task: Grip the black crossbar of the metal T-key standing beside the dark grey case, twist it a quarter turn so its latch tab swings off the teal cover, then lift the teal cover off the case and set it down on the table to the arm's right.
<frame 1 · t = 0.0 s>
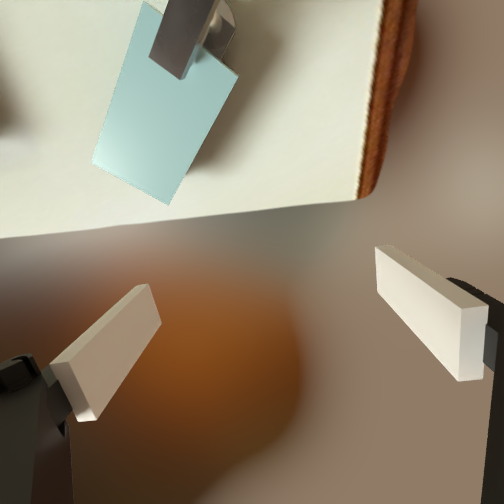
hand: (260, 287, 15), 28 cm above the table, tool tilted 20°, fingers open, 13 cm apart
cover: (165, 118, 30), point 5 cm above the table, touching case
case: (175, 111, 34), on the table
key: (204, 14, 23), point 8 cm above the table, hinge at 0.0°
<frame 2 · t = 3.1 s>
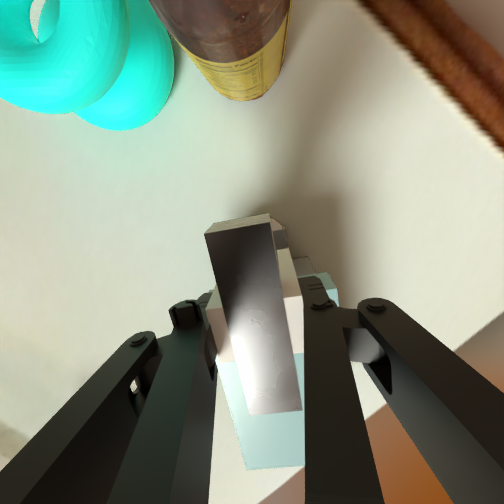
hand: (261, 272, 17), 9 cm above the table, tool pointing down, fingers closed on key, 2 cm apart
sauce bottle: (243, 65, 21), on the table
cover: (283, 364, 24), point 5 cm above the table, touching case
case: (280, 331, 28), on the table
key: (261, 272, 17), point 9 cm above the table, hinge at 0.0°, touching gripper
donuts: (120, 67, 22), on the table
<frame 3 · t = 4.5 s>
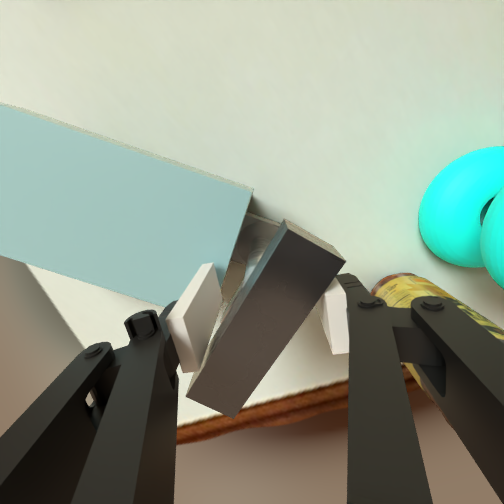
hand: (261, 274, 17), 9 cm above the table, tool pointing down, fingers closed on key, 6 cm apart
sauce bottle: (394, 295, 26), on the table
cover: (129, 214, 20), point 5 cm above the table, touching case
case: (155, 205, 25), on the table
key: (260, 275, 17), point 9 cm above the table, hinge at 79.7°, touching gripper
donuts: (468, 207, 24), on the table
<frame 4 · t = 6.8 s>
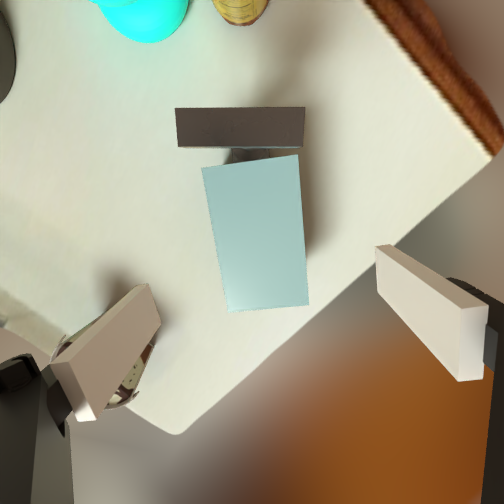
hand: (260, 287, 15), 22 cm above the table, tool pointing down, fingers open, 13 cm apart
cover: (259, 234, 31), point 5 cm above the table, touching case
case: (260, 225, 36), on the table
food container: (121, 338, 43), on the table
key: (245, 136, 25), point 9 cm above the table, hinge at 82.3°
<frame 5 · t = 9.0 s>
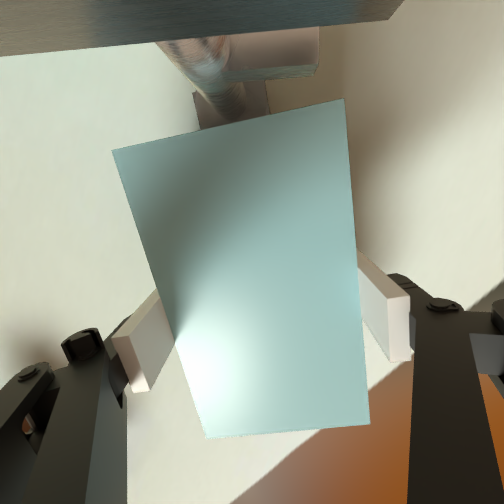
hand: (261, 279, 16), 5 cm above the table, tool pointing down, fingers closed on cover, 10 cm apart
cover: (260, 282, 16), point 5 cm above the table, touching case, gripper
case: (262, 255, 21), on the table
key: (206, 57, 9), point 9 cm above the table, hinge at 82.3°
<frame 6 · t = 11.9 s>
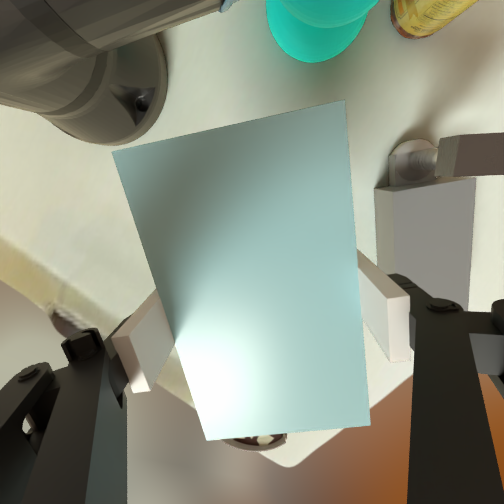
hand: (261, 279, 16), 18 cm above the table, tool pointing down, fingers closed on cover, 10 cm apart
sauce bottle: (416, 10, 27), on the table
cover: (261, 283, 16), point 19 cm above the table, touching gripper
case: (409, 246, 34), on the table
food container: (241, 368, 41), on the table
key: (459, 157, 22), point 9 cm above the table, hinge at 82.3°
donuts: (314, 11, 27), on the table
when the fingers open (2 cm above the table, at t = 15.0 s): cover drops 3 cm, on the table.
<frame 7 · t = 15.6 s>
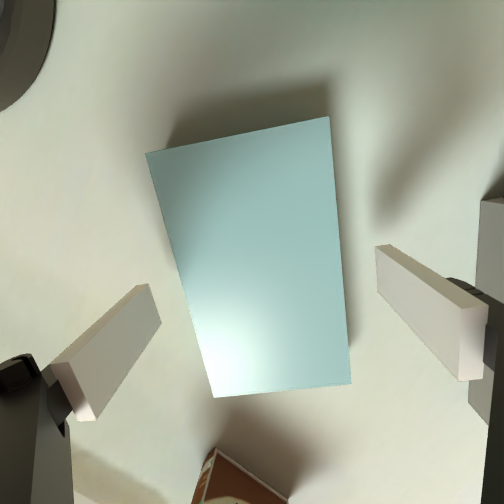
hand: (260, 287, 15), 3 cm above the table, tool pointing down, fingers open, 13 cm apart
cover: (261, 265, 19), on the table
food container: (231, 486, 25), on the table
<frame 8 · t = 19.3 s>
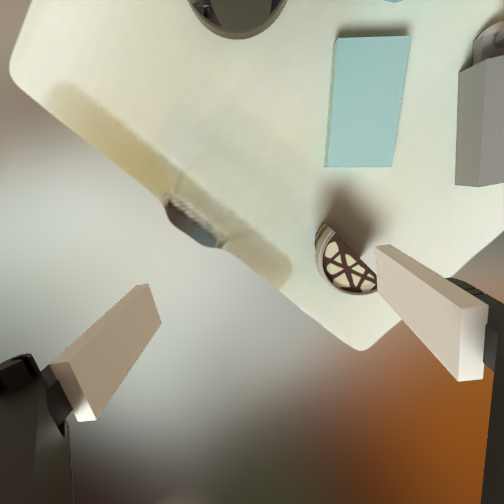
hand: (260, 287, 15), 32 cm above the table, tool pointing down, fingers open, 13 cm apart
cover: (359, 110, 40), on the table
case: (484, 126, 40), on the table
food container: (328, 252, 47), on the table
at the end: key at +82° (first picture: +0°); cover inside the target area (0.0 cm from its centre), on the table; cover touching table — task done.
